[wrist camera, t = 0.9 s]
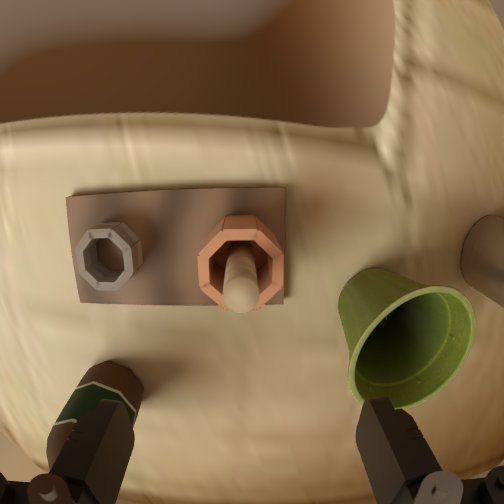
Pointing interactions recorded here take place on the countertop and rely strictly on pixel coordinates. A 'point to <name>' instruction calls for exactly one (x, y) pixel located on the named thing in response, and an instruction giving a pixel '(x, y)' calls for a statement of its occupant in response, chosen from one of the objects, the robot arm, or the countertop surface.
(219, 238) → the terracotta cup
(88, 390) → the beer bottle
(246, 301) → the birch dowel
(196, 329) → the countertop surface
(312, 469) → the countertop surface
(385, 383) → the plant pot
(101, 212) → the peg socket board
